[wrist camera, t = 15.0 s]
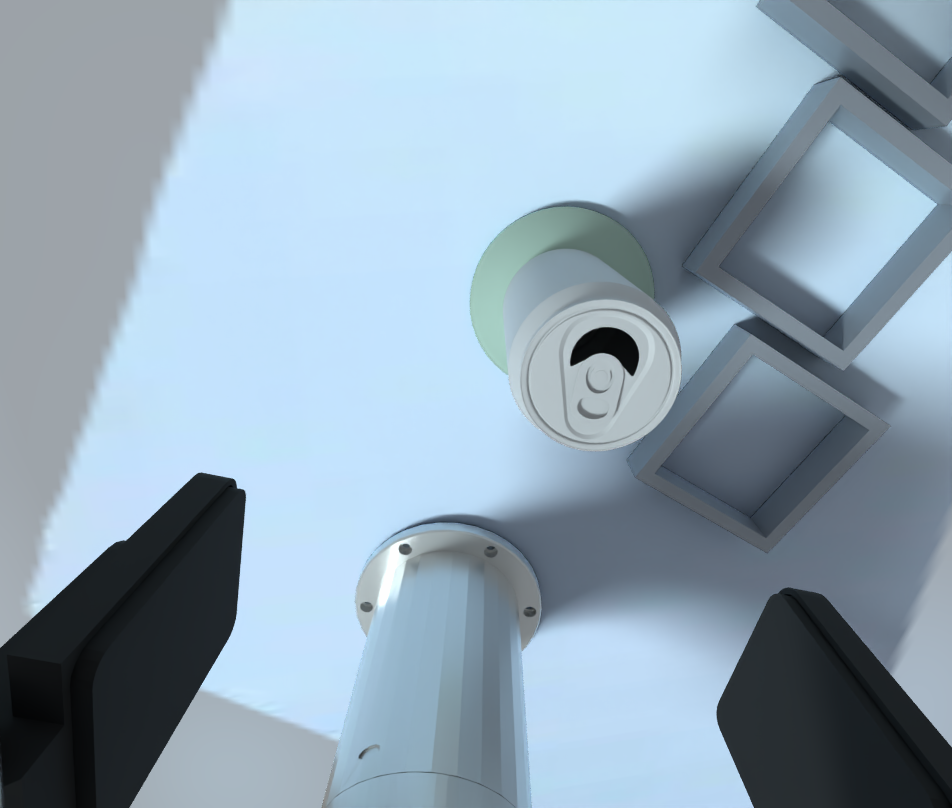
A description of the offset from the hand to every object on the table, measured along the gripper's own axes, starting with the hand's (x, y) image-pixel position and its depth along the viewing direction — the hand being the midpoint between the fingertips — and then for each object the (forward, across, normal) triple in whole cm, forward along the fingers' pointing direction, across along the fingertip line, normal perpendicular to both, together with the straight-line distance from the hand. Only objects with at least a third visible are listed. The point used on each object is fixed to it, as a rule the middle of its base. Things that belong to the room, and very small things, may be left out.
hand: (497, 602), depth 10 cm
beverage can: (+23, -4, -2) cm, 23 cm away
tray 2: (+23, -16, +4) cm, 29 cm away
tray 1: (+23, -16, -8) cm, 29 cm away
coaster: (+23, -4, -2) cm, 24 cm away
